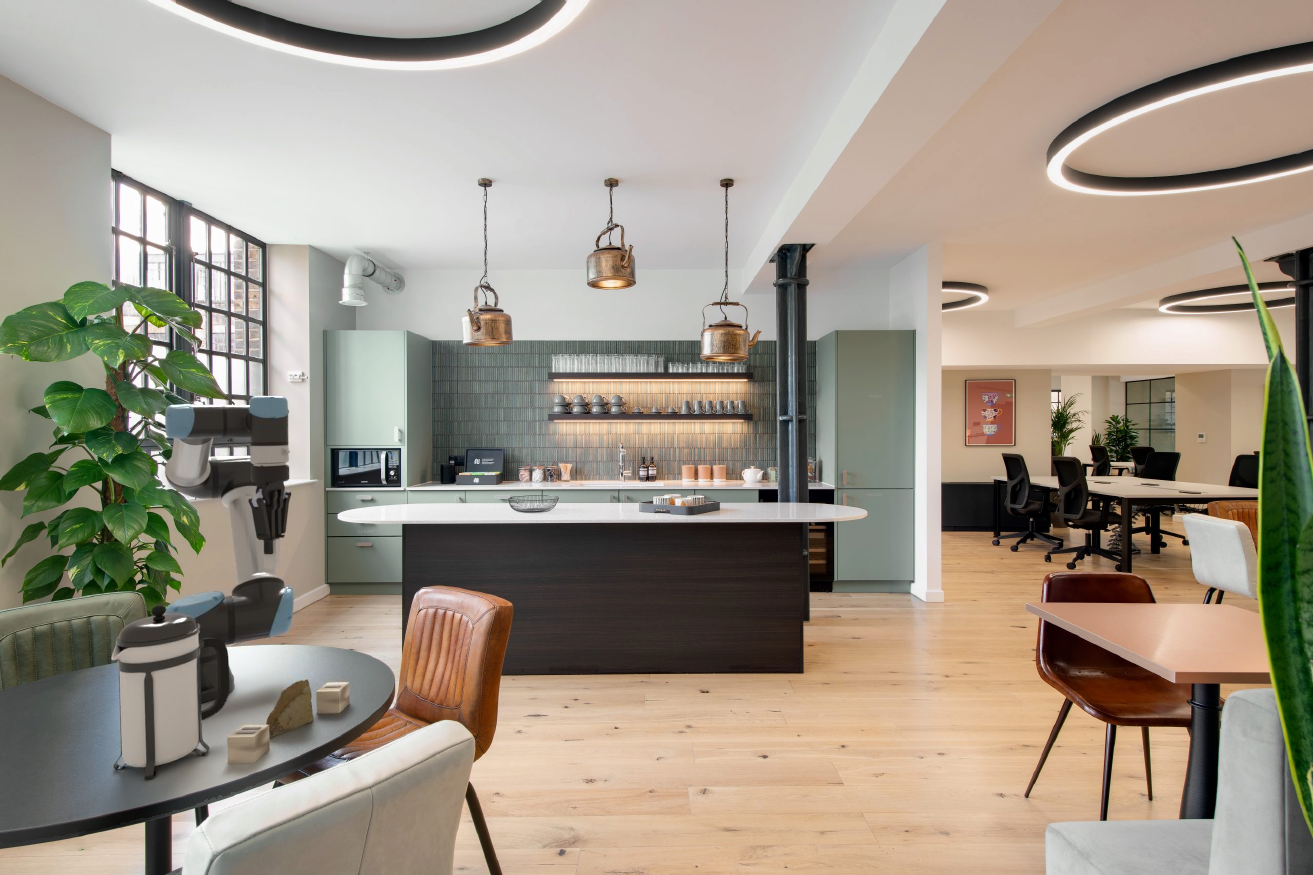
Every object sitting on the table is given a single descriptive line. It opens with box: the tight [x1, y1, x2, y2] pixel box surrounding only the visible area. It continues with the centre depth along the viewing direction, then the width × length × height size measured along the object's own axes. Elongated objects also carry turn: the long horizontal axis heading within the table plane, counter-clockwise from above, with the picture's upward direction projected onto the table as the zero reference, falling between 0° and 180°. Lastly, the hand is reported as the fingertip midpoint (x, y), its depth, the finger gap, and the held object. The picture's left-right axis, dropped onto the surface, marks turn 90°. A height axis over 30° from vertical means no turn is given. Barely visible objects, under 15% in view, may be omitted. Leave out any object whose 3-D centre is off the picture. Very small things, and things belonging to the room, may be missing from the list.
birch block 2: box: [315, 681, 351, 714], centre depth 147 cm, size 5×5×5 cm
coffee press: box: [111, 604, 230, 781], centre depth 126 cm, size 17×16×30 cm
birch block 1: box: [226, 724, 271, 764], centre depth 126 cm, size 5×5×5 cm
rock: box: [265, 679, 314, 739], centre depth 138 cm, size 11×9×10 cm
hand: (272, 567), depth 149 cm, fingers closed
